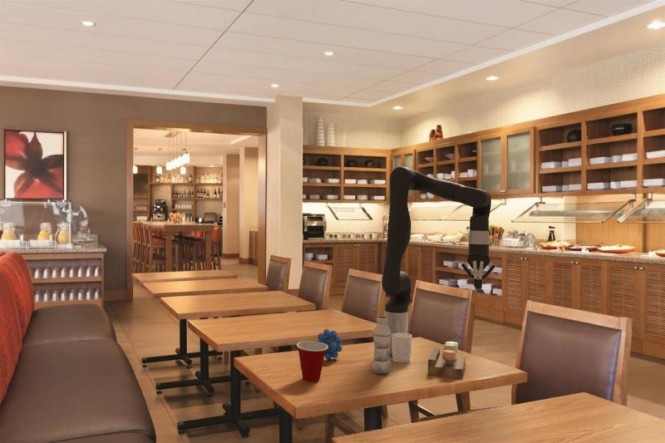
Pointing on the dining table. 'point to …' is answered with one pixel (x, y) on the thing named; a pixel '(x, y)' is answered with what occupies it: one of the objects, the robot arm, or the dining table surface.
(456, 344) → the ivory key
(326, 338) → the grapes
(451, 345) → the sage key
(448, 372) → the brown wooden block
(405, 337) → the white cup
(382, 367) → the plastic bottle
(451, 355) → the peach rounded block
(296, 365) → the dining table surface
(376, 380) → the dining table surface
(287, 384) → the dining table surface
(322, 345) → the plastic cup
